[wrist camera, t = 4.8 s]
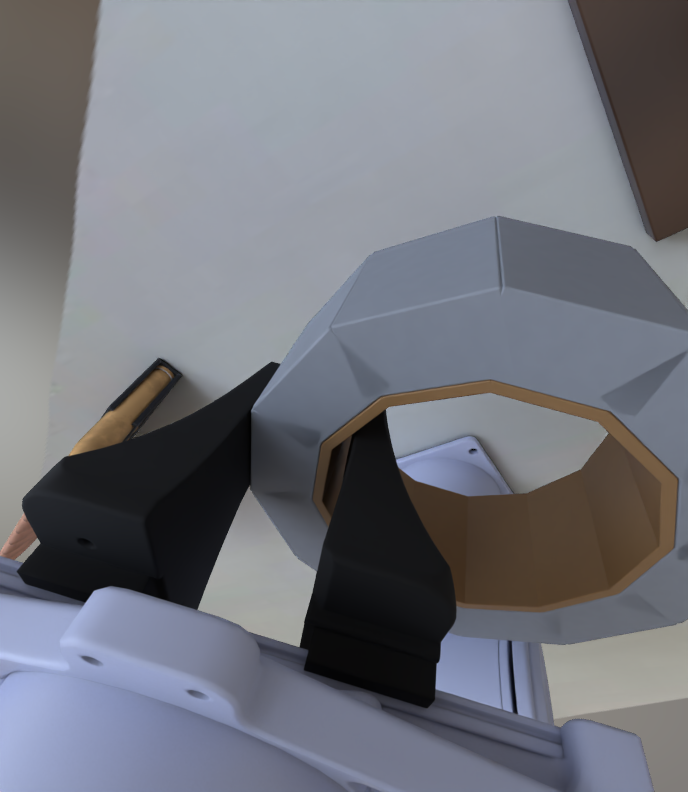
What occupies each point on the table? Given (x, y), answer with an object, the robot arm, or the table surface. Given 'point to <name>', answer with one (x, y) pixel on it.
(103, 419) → the ammunition clip
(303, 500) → the tape roll
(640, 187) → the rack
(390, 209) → the table surface
